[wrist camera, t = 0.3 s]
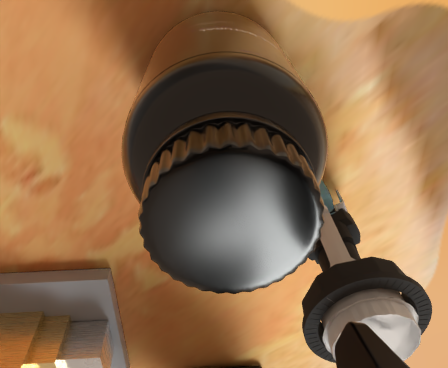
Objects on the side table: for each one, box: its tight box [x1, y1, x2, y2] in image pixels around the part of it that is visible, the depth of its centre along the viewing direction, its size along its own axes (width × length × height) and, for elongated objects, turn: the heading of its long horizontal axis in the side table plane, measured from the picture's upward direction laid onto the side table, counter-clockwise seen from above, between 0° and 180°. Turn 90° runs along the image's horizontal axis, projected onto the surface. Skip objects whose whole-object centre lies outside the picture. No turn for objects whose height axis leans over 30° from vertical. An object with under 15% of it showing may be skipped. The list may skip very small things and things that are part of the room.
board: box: [0, 268, 130, 368], centre depth 28 cm, size 10×14×1 cm
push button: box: [302, 180, 432, 363], centre depth 20 cm, size 7×5×10 cm
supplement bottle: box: [122, 11, 328, 294], centre depth 16 cm, size 7×7×12 cm
